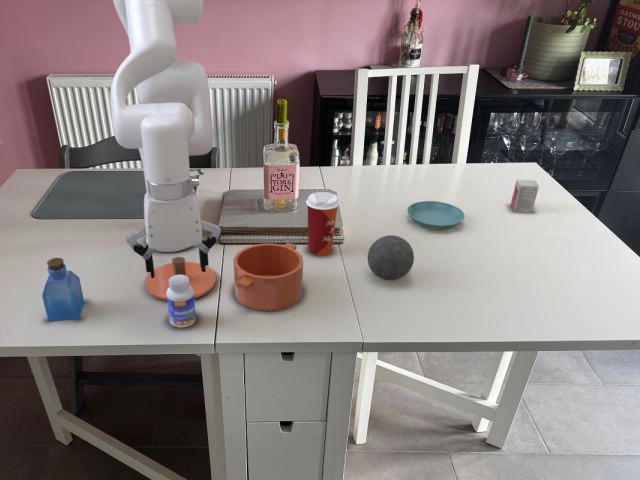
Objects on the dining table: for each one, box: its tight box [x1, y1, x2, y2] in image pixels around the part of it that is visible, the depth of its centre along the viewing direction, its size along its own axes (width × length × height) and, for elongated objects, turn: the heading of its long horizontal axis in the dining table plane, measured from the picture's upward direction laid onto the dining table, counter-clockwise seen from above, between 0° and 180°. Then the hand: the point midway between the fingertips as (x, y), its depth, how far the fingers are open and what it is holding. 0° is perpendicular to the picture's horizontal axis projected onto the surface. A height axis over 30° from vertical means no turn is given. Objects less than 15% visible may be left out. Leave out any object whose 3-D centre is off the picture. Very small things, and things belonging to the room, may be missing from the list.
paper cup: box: [305, 191, 340, 257], centre depth 136 cm, size 8×8×14 cm
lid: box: [144, 256, 217, 301], centre depth 125 cm, size 16×16×6 cm
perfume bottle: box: [41, 257, 85, 322], centre depth 115 cm, size 6×6×12 cm
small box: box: [509, 179, 540, 213], centre depth 156 cm, size 5×4×8 cm
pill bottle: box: [166, 275, 197, 328], centre depth 113 cm, size 5×5×10 cm
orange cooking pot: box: [233, 242, 304, 312], centre depth 122 cm, size 15×20×8 cm
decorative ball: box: [367, 234, 415, 281], centre depth 126 cm, size 10×10×10 cm
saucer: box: [406, 200, 466, 231], centre depth 151 cm, size 15×15×3 cm
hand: (178, 271), depth 109 cm, fingers open, 9 cm apart
